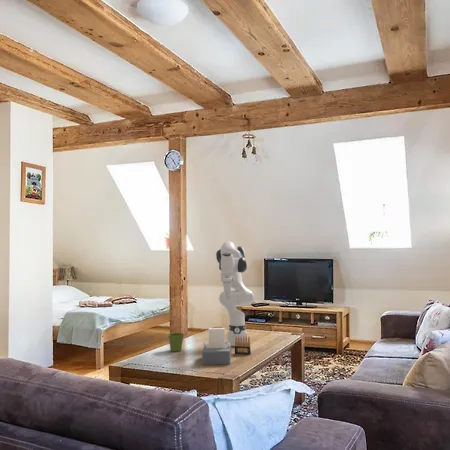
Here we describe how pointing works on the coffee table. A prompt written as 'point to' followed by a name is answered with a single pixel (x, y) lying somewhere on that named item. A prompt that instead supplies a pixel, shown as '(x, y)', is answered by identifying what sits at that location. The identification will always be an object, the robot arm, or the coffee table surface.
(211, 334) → the door panel
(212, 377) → the coffee table surface
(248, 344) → the ammunition clip
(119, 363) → the coffee table surface
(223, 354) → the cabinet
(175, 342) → the plant pot
